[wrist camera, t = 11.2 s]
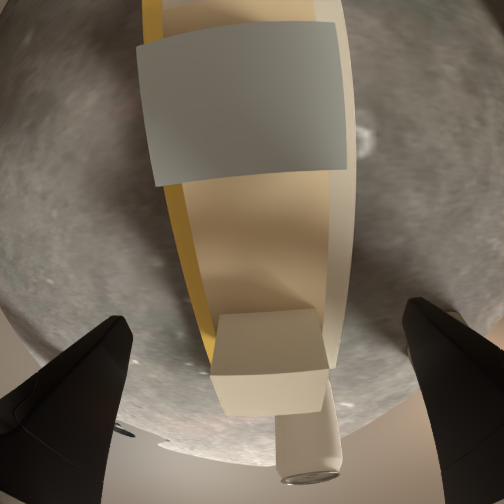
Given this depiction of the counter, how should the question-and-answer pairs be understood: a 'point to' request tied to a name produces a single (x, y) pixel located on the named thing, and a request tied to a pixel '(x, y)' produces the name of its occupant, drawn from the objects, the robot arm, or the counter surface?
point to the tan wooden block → (256, 203)
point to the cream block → (270, 363)
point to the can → (309, 445)
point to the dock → (339, 197)
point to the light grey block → (243, 101)
